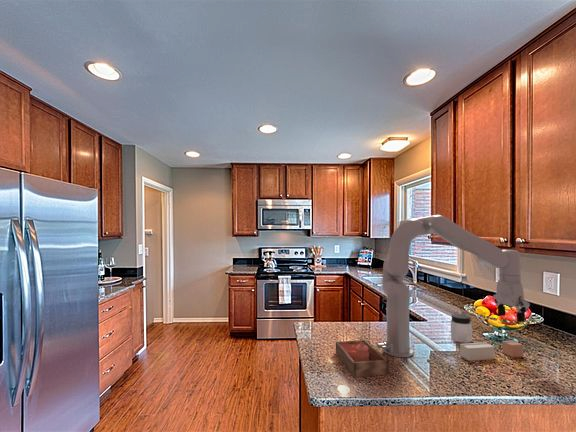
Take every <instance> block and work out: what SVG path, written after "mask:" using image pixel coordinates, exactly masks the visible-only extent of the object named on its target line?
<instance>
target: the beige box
mask: <svg viewBox="0 0 576 432" xmlns="http://www.w3.org/2000/svg"><path fill="white" fill-rule="evenodd" d="M459 353H460V354H459V355H460V357H461V358H463V359H465V360H467V361H480V360H481V361H482V360H496V356H495V346H494V345H491V344H490V343H487V342H473V343H472V342H469V343H459Z"/></svg>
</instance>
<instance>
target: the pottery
mask: <svg viewBox="0 0 576 432" xmlns="http://www.w3.org/2000/svg"><path fill="white" fill-rule="evenodd" d="M340 345H341V346H342V347H343V349H344V350H345V351H346V352H347V353H348V354H349V356H350V357H351V358H352V359H353V360H354V361H355V362H364V361H371V360H370V357H369V352H368V349H369V348H368V346H366V345H364V342H360V343H355V344H340Z"/></svg>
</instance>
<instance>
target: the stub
mask: <svg viewBox="0 0 576 432" xmlns="http://www.w3.org/2000/svg"><path fill="white" fill-rule="evenodd" d="M501 344H502V345H501V347H502V349H501V350H502V354H504V355H506V356H508V357H510V358H522V357H524V351H523V348H524V347H523V344H522V343H520V342H517V341H515V340H512V339H511V340H502V342H501Z"/></svg>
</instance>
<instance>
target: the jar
mask: <svg viewBox="0 0 576 432" xmlns="http://www.w3.org/2000/svg"><path fill="white" fill-rule="evenodd" d="M471 319H472V318H471V316H469V315H466V314H462V313H460V314H459V313H453V314H451V319H450V338H451V340H452V341H455V342H459V343H462V344H468V343H472V342H473V326H472V322H471V321H472V320H471Z"/></svg>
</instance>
